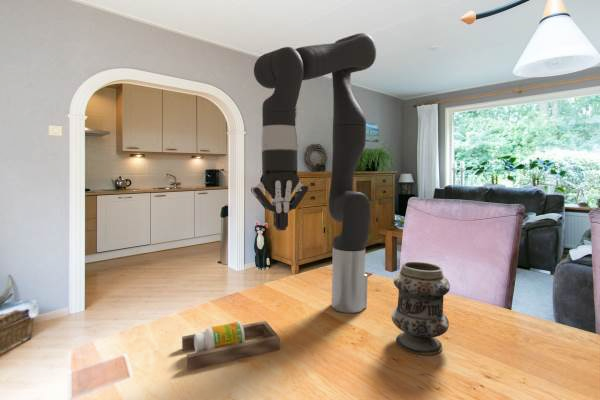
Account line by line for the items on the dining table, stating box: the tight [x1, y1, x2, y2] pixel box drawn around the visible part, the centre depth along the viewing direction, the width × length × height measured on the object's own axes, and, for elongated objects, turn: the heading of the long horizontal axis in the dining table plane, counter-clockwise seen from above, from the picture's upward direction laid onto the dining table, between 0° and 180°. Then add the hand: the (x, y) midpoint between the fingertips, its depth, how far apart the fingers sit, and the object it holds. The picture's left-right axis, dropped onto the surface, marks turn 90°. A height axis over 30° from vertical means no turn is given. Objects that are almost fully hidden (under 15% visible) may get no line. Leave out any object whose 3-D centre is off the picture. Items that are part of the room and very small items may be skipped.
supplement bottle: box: [194, 321, 246, 353], centre depth 70 cm, size 5×5×10 cm
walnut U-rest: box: [181, 320, 281, 372], centre depth 71 cm, size 19×9×3 cm, turn 116°
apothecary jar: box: [391, 260, 451, 356], centre depth 74 cm, size 12×12×18 cm
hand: (280, 229), depth 71 cm, fingers closed
